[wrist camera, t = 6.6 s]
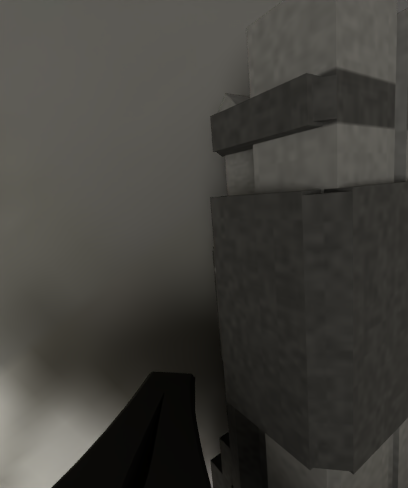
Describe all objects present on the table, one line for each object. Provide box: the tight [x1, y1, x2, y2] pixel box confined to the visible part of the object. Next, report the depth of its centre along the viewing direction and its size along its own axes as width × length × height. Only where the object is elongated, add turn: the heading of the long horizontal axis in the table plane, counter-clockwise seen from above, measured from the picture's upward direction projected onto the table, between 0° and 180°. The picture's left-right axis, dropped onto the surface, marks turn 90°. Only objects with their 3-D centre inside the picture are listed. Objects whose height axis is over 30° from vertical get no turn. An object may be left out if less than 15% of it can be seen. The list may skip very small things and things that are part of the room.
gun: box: [210, 0, 408, 488], centre depth 9 cm, size 4×20×10 cm
